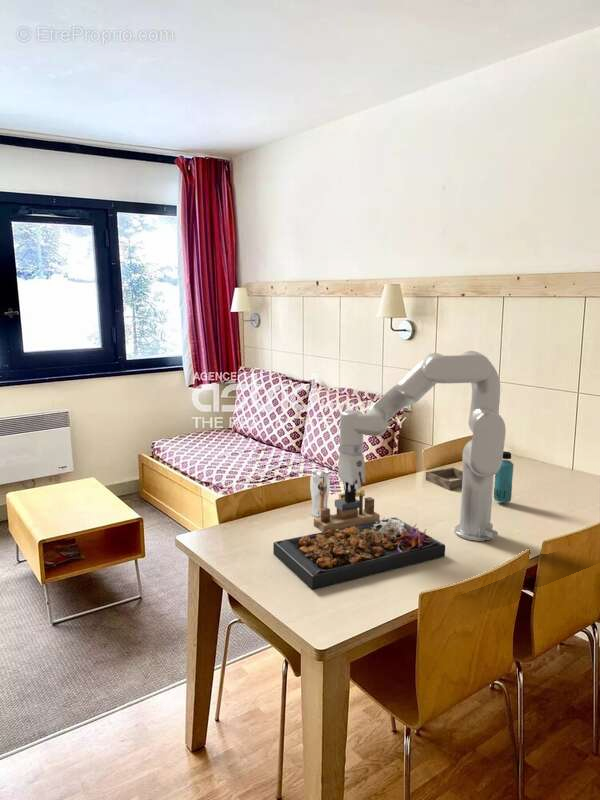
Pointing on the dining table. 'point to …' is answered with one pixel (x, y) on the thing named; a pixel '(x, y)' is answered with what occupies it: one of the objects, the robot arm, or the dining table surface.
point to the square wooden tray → (439, 476)
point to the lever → (358, 493)
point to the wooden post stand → (347, 516)
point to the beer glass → (319, 491)
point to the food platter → (356, 552)
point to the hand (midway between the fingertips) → (350, 501)
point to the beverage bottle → (504, 480)
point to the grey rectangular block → (346, 504)
